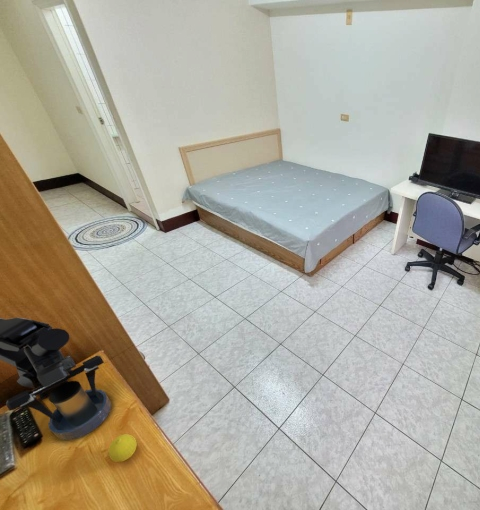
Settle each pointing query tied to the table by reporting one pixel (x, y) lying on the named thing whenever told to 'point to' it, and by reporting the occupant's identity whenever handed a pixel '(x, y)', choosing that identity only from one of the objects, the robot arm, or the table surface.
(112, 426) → the table surface
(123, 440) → the lemon
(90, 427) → the dish
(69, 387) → the tin
